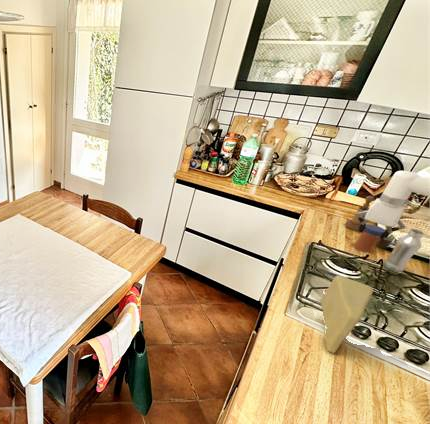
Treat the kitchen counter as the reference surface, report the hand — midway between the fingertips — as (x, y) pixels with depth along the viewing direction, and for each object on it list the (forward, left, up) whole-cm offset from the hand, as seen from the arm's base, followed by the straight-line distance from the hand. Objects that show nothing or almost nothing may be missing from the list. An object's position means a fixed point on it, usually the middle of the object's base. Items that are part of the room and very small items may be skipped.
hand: (371, 234), depth 138 cm
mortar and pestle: (+2, -22, -8) cm, 23 cm away
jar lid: (0, 0, +3) cm, 3 cm away
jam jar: (0, 0, -8) cm, 8 cm away
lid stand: (-7, -8, -8) cm, 13 cm away
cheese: (+13, +69, -8) cm, 71 cm away
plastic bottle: (-7, +16, -8) cm, 19 cm away
